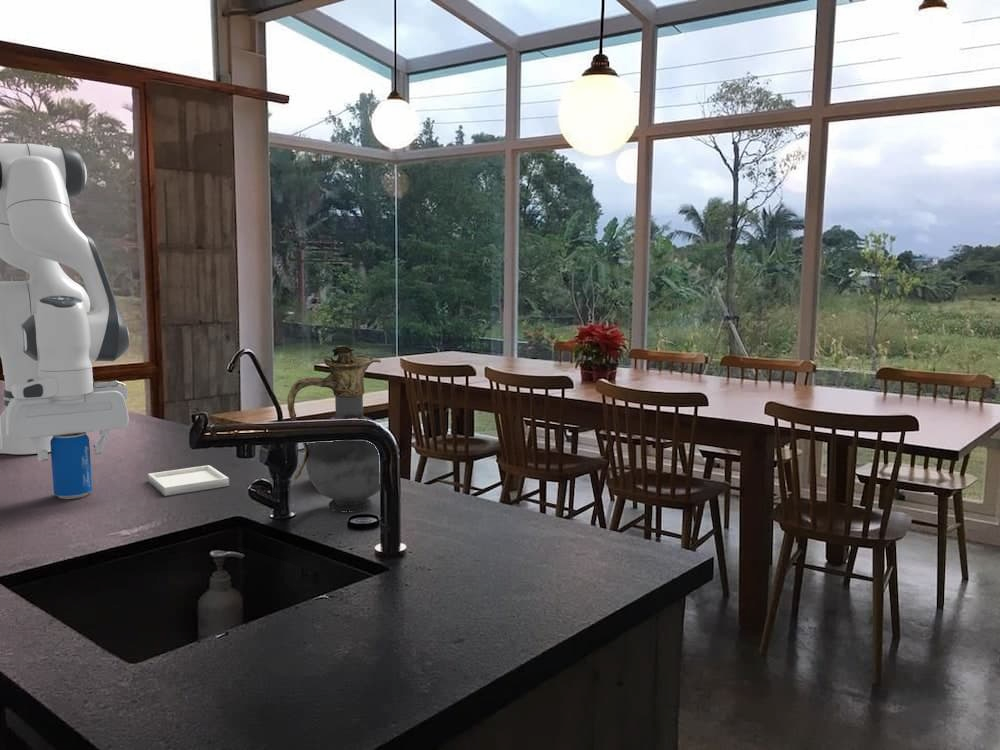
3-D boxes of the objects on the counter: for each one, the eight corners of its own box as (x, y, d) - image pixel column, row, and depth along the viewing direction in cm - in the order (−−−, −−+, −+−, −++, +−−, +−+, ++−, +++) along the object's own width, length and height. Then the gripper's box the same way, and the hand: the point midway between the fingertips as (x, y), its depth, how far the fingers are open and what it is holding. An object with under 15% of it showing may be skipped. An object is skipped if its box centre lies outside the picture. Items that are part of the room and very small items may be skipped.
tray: (148, 481, 163) (148, 473, 163) (209, 472, 171) (209, 465, 170) (165, 495, 154) (164, 487, 154) (229, 485, 161) (228, 477, 161)
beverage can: (76, 501, 150) (72, 438, 148) (45, 498, 151) (41, 436, 149) (100, 491, 156) (96, 430, 154) (70, 489, 157) (66, 428, 156)
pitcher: (402, 508, 148) (401, 345, 144) (299, 525, 138) (295, 350, 134) (378, 493, 157) (377, 339, 153) (281, 508, 147) (276, 344, 143)
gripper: (123, 377, 159) (127, 446, 161) (1, 386, 147) (7, 461, 149) (130, 381, 154) (134, 452, 156) (5, 390, 142) (11, 468, 144)
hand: (71, 456), depth 152 cm, fingers open, 8 cm apart
